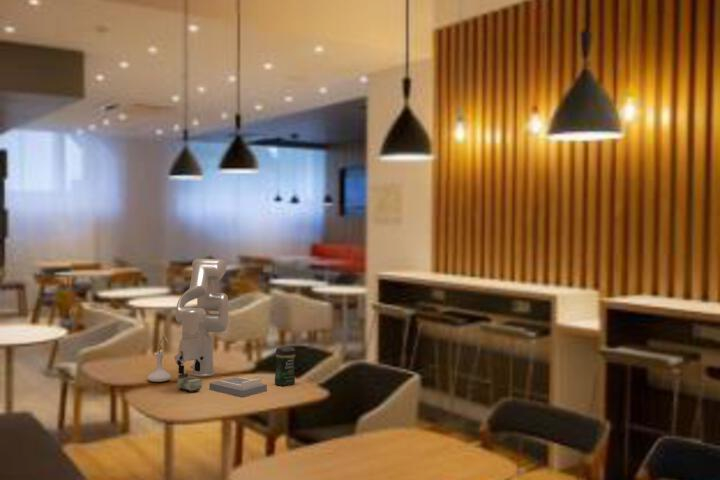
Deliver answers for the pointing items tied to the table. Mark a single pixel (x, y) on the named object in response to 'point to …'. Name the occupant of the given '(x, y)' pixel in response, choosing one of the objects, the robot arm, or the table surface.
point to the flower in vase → (159, 366)
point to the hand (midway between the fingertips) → (189, 372)
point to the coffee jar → (285, 366)
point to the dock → (239, 386)
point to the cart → (189, 383)
